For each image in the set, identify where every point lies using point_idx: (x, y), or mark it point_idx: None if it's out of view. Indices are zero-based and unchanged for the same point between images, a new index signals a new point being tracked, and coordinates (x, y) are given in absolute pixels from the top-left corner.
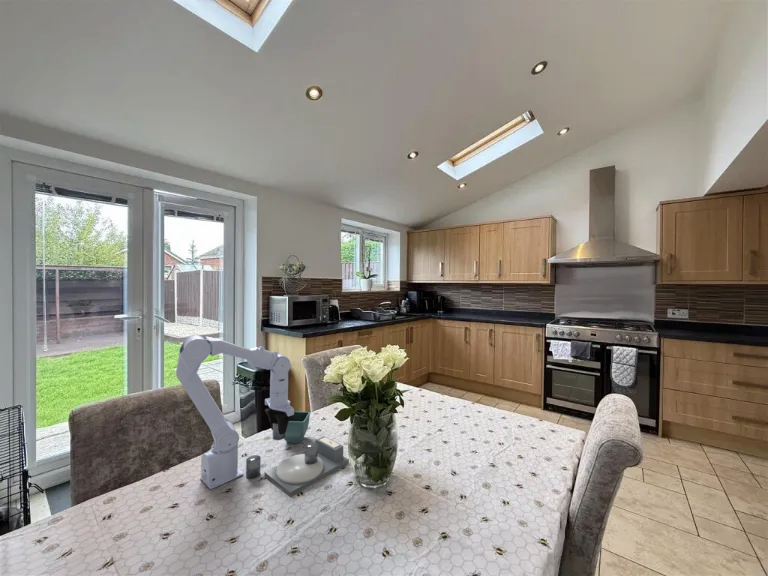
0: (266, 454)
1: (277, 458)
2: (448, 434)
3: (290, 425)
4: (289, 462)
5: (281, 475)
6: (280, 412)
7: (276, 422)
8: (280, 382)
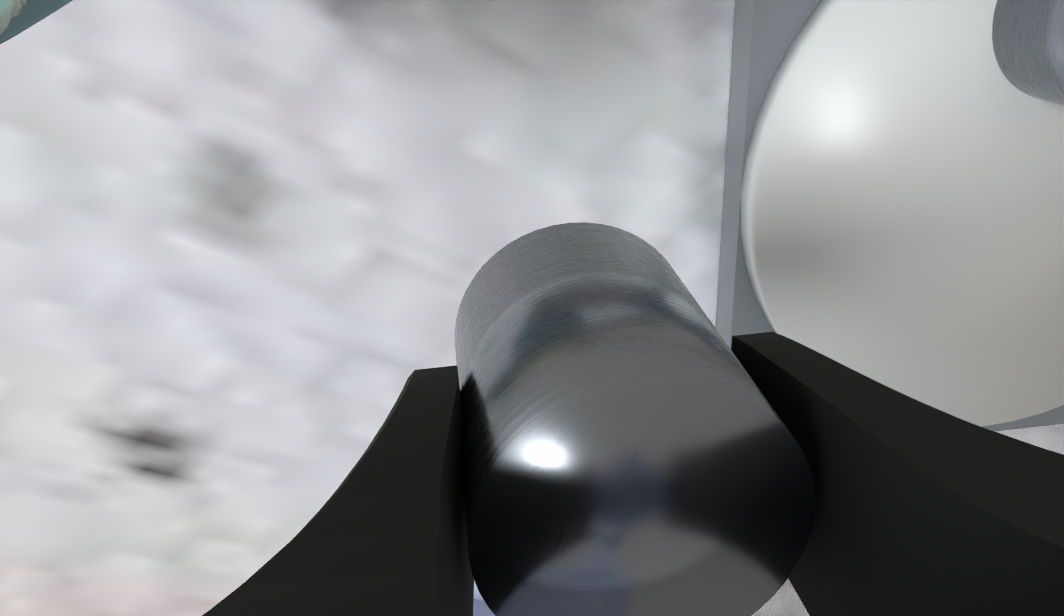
0: (311, 266)
1: (503, 205)
2: None
3: None
4: (860, 239)
5: (976, 407)
6: (438, 582)
7: (598, 585)
8: None
